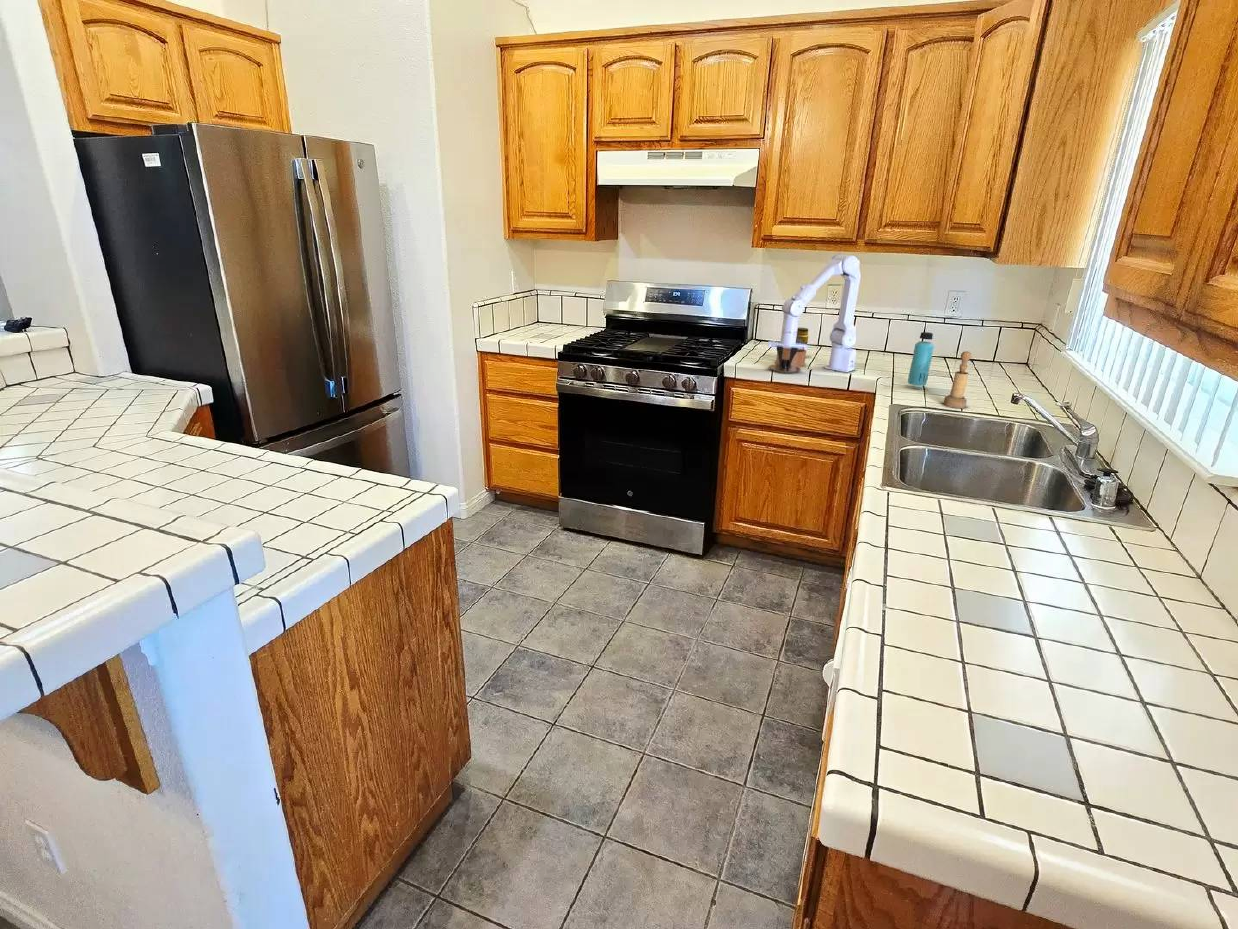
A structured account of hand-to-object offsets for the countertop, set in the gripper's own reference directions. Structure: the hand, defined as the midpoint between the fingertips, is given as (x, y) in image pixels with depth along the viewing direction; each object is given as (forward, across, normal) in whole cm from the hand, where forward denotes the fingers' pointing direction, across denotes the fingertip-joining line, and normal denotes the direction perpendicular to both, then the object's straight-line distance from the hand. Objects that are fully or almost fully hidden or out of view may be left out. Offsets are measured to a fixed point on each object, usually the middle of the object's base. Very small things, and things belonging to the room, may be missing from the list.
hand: (784, 366), depth 253 cm
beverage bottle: (+2, -47, +9) cm, 48 cm away
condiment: (+2, -5, -31) cm, 31 cm away
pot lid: (+1, 0, 0) cm, 1 cm away
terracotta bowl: (+2, -2, -14) cm, 14 cm away
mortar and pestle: (+2, -56, +30) cm, 63 cm away
